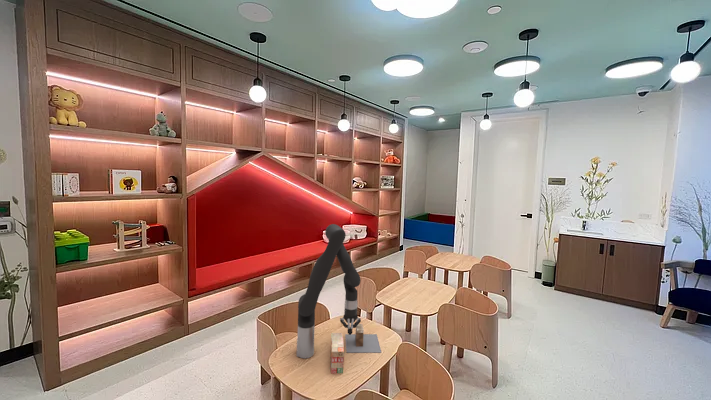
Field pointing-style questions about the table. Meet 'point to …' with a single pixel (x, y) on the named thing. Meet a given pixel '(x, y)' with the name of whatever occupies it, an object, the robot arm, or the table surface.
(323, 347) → the table surface
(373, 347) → the mat
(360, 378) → the table surface
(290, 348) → the table surface
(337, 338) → the stack of blocks
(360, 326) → the walnut block
